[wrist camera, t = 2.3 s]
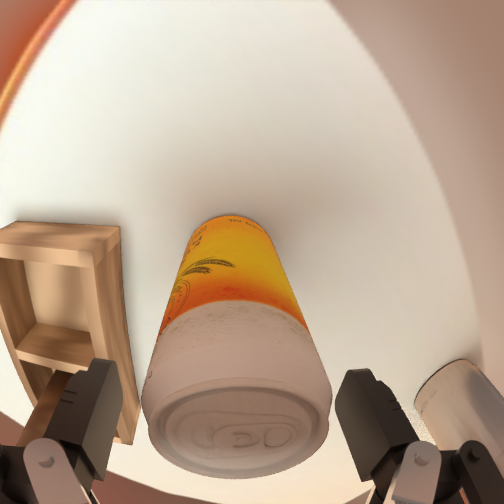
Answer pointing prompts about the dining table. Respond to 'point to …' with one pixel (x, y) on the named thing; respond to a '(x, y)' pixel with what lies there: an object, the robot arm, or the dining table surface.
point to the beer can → (235, 362)
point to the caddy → (64, 314)
